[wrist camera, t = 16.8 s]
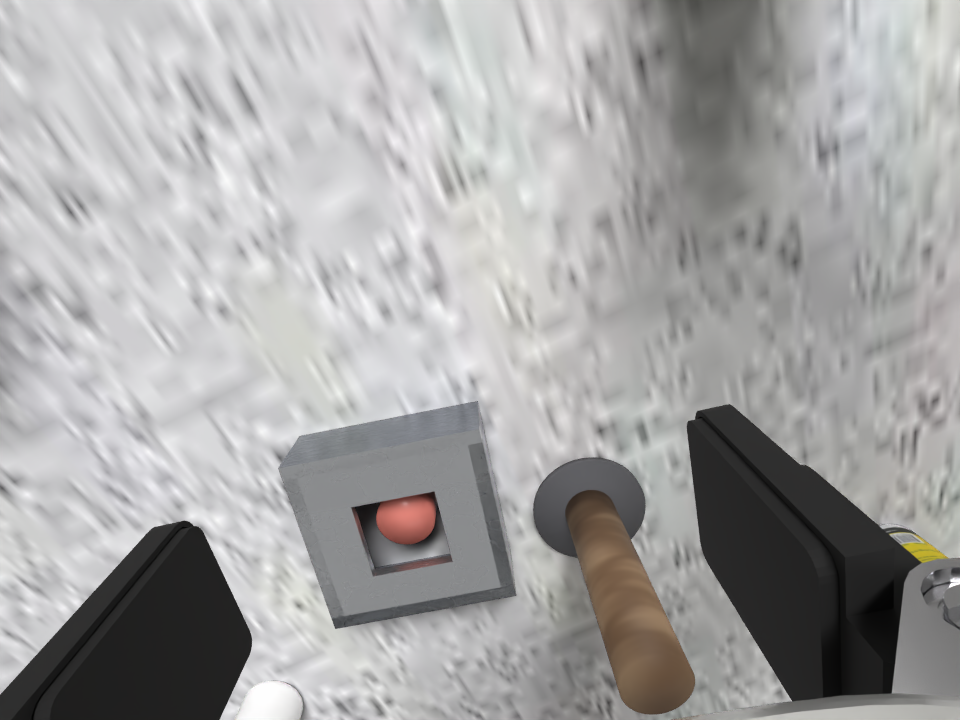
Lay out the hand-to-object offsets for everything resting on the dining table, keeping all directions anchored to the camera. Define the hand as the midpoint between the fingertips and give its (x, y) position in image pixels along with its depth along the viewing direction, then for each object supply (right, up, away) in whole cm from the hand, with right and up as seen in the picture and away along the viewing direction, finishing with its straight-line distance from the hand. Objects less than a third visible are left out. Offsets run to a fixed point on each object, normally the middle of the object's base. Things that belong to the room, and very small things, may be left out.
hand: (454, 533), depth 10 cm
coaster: (+9, -9, +34) cm, 36 cm away
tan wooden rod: (+9, -9, +33) cm, 36 cm away
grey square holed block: (-5, -8, +33) cm, 35 cm away
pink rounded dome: (-5, -8, +33) cm, 34 cm away
